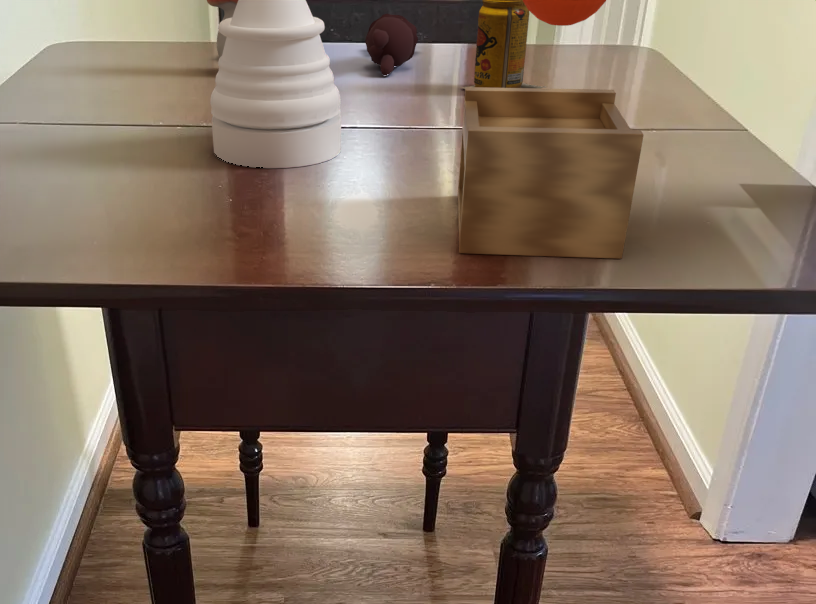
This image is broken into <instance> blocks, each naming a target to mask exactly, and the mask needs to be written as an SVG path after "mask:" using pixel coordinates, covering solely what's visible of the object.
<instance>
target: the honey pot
mask: <svg viewBox="0 0 816 604" xmlns="http://www.w3.org/2000/svg"><path fill="white" fill-rule="evenodd" d="M311 11H312V10H311V9H310V6H309V5H308V2H307V0H238V3H237V5H236V8H235V11H234V14H233V17H232V18H228V19H225V20H223V19H222V20H223V21H222V20H221V21H220V22H219V24H218V28H217V29H218V30H219V32H220V33H221V34H222V35H224V36H226V37H227V38H226V41H225V45H224V49H223V54H222V56H221V57H220V58H219V57H218V61H217V66H218V71H217V73H216V75H215V79H214V83H215V86H214V88H213V90H212V91H211V95H210V101H209V104H210V109H211V110H210V114H211V115H212V117H211V132H212V145H213V154H214V153H215V154H216V155H217V157H219V158H221V159H222V160H221V159H220V160H221V161H223V160H224V161H223V162H225V161H226V162H225V163H228V162H229V163H228V164H231V163H233V164H232V165H235V164H236V165H235V166H240V165H242V166H241V167H247V166H249V167H248V168H256V167H260V168H259V169H290V168H298V167H299V168H300V167H306V166H307V167H308V166H313V165H318V164H320V163H324V162H328V161H330V160H332V159H334V158H336V157H338V156H339V154H340V153H341V152H342V116H341V112H342V110H341V103H342V98H341V94H340V93H341V92H340V90H339V88H338V86H337V85H336V84H335V76H334V72H333V71H332V69H331V66H330V65H331V59H330V57H329V55H328V54H327V53H326V51H325V47H324V43H323V41H322V38H321V35H320V34H322V33H323V32H324V31H325V28H326V26H325V21H323V20H322V19H321V18H319V17H317V16H313V14H312V12H311ZM215 154H214V155H215ZM216 155H215V156H216ZM217 157H216V158H217ZM219 158H218V159H219ZM261 167H263V168H261Z"/></svg>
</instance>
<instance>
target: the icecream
mask: <svg viewBox="0 0 816 604" xmlns="http://www.w3.org/2000/svg"><path fill="white" fill-rule="evenodd" d="M417 33H418V30H417V27H416V26H415V24H413V23H411V22H410V21H409V20H408V19H407V18H406V17H404V16H403V15H400V14H390V13H384V14H382V15H381V16H380V17H378V18H377V19H375V20H373V22H371V23H370V25H369V27H368V31H367V34H366V35H365V40H364V42H365V43H364V44H365V46H366V52H367V53H368V55H369V57H370V60H371V62H372V63H374V64H376V65H377V66H379V69H380V73H381V75H382V74H383V75H387V74H389V75H390V74H391V73H392V72H393V71H394V68H395V67H394V66H397V67H400V66H402V65H403V64H405V63H406V62H408V61H410V60H411V59H413V57H414V56H415V55H414V54H415V51H416V47H417V44H418V42H419V38H418V35H417ZM383 75H382V76H383Z"/></svg>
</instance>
